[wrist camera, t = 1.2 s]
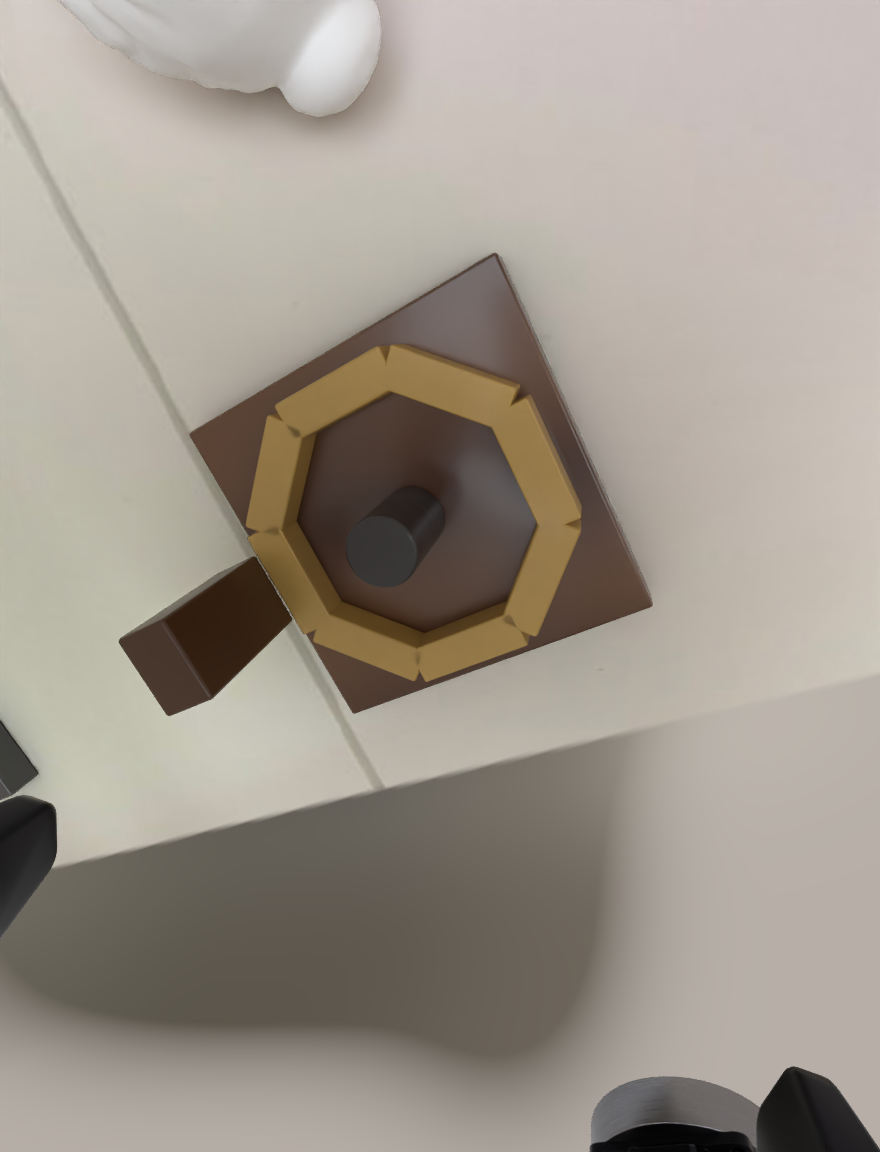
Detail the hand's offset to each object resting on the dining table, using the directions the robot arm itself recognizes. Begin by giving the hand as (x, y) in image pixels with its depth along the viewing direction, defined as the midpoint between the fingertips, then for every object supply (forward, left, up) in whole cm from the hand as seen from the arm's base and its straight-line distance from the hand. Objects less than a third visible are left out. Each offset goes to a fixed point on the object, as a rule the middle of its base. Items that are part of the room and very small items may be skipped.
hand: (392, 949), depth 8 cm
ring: (+3, +2, -14) cm, 14 cm away
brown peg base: (+3, +2, -15) cm, 15 cm away
